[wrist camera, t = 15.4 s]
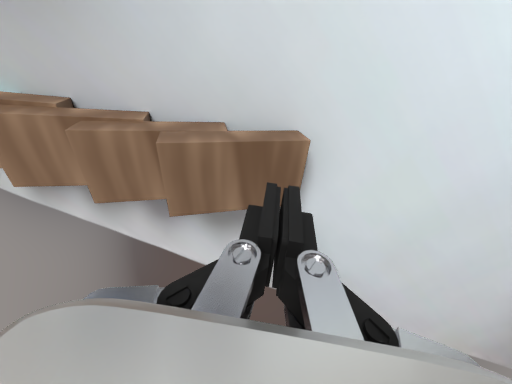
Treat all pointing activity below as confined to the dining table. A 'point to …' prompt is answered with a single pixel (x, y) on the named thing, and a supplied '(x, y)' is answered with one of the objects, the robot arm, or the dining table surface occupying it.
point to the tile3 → (47, 142)
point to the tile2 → (124, 156)
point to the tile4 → (34, 100)
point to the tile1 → (227, 167)
